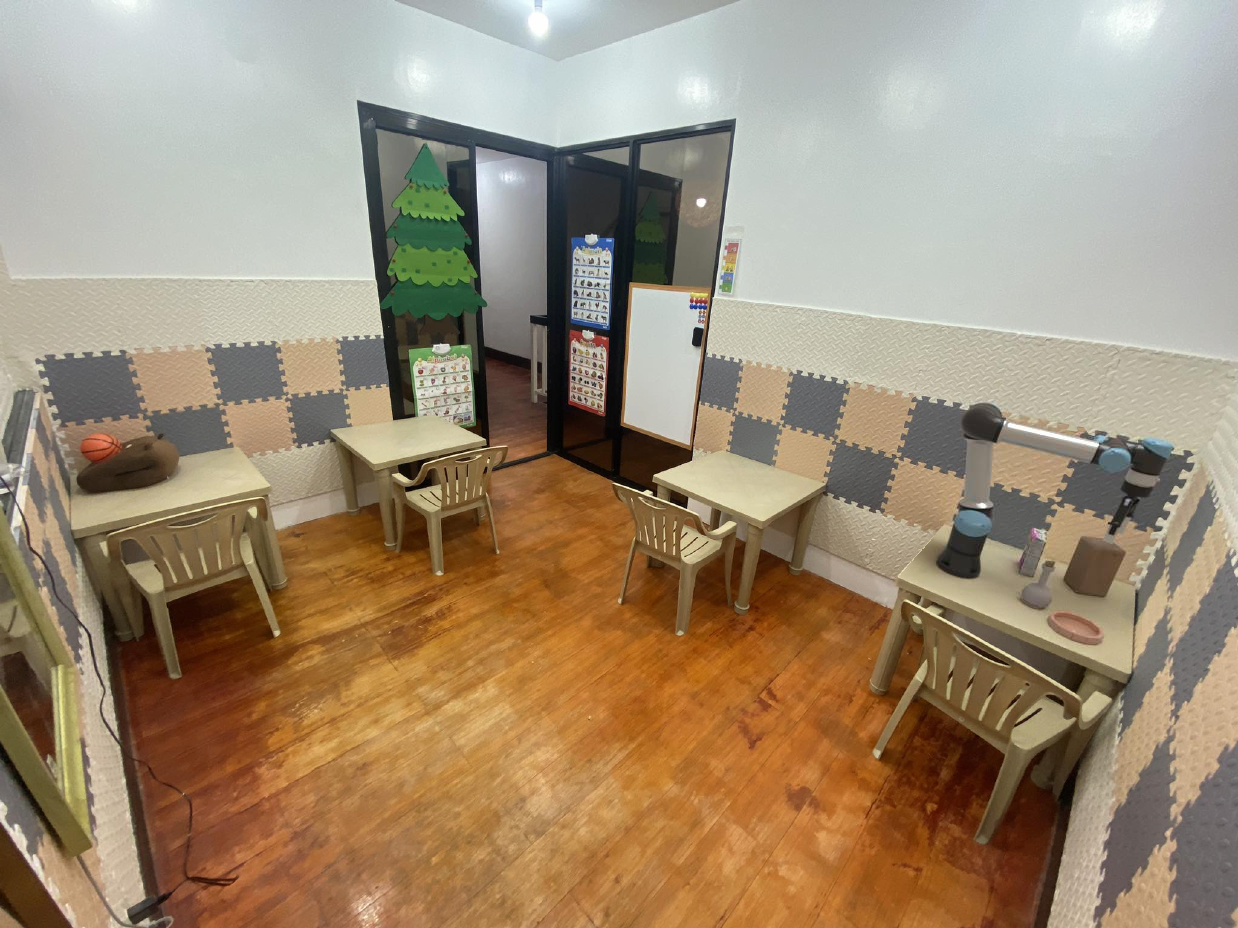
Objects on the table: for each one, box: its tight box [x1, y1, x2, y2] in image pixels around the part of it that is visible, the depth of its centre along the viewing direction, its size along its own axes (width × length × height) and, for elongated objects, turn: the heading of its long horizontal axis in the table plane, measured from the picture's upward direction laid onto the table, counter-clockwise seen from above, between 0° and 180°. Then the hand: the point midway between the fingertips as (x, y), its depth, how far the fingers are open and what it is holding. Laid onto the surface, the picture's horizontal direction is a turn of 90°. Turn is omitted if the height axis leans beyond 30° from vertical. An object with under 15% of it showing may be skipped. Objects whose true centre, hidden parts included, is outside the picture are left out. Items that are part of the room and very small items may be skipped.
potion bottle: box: [1020, 560, 1057, 610], centre depth 186 cm, size 9×9×18 cm
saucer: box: [1047, 610, 1106, 645], centre depth 176 cm, size 14×14×2 cm
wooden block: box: [1063, 535, 1127, 597], centre depth 197 cm, size 10×10×20 cm
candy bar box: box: [1018, 527, 1048, 578], centre depth 208 cm, size 11×5×16 cm, turn 143°
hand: (1112, 537), depth 186 cm, fingers open, 13 cm apart
